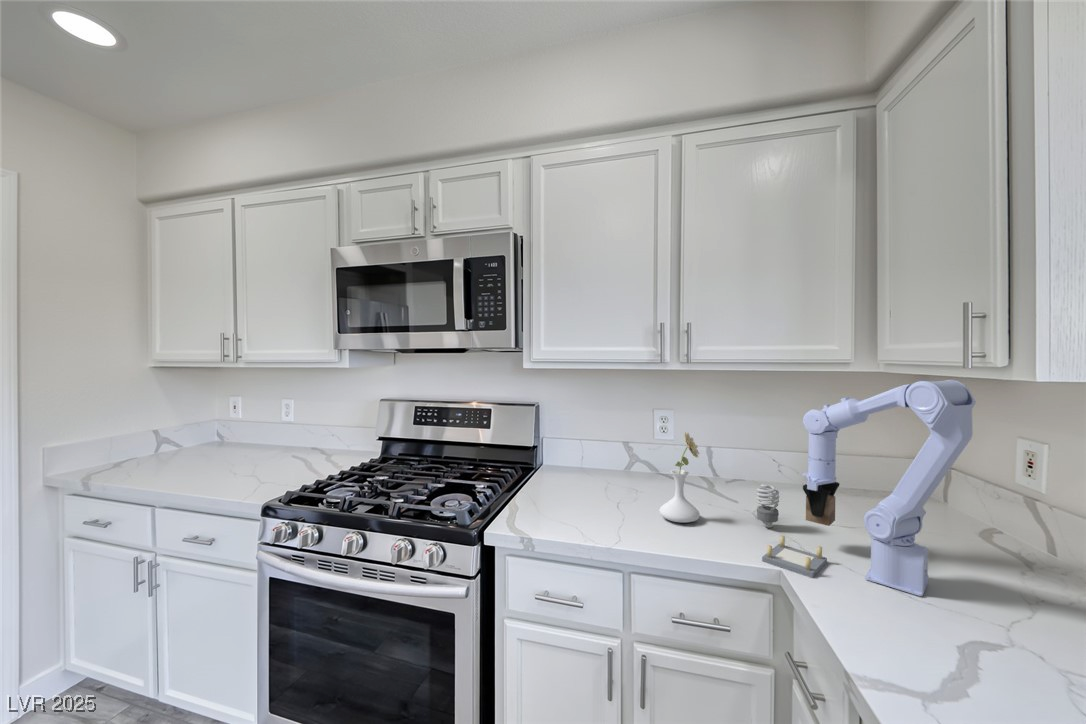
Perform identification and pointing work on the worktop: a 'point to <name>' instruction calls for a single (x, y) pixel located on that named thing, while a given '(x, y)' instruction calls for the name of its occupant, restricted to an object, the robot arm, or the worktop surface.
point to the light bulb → (767, 512)
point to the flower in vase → (681, 491)
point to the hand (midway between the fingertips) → (820, 513)
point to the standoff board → (795, 559)
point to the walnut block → (828, 512)
